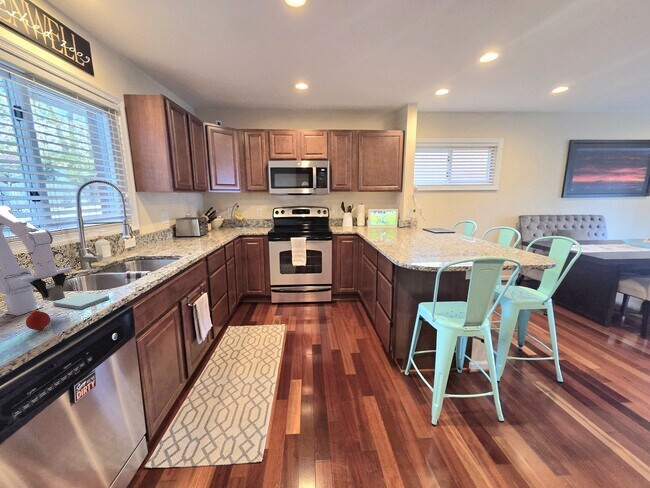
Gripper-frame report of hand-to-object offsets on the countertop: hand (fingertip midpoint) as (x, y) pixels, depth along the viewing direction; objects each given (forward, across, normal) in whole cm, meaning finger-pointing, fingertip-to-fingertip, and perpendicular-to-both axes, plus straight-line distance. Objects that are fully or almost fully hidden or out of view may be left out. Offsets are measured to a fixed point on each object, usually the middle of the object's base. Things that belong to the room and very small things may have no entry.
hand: (53, 295), depth 104 cm
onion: (+9, -10, -10) cm, 17 cm away
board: (+8, +11, +5) cm, 15 cm away
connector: (+1, 0, +1) cm, 2 cm away
